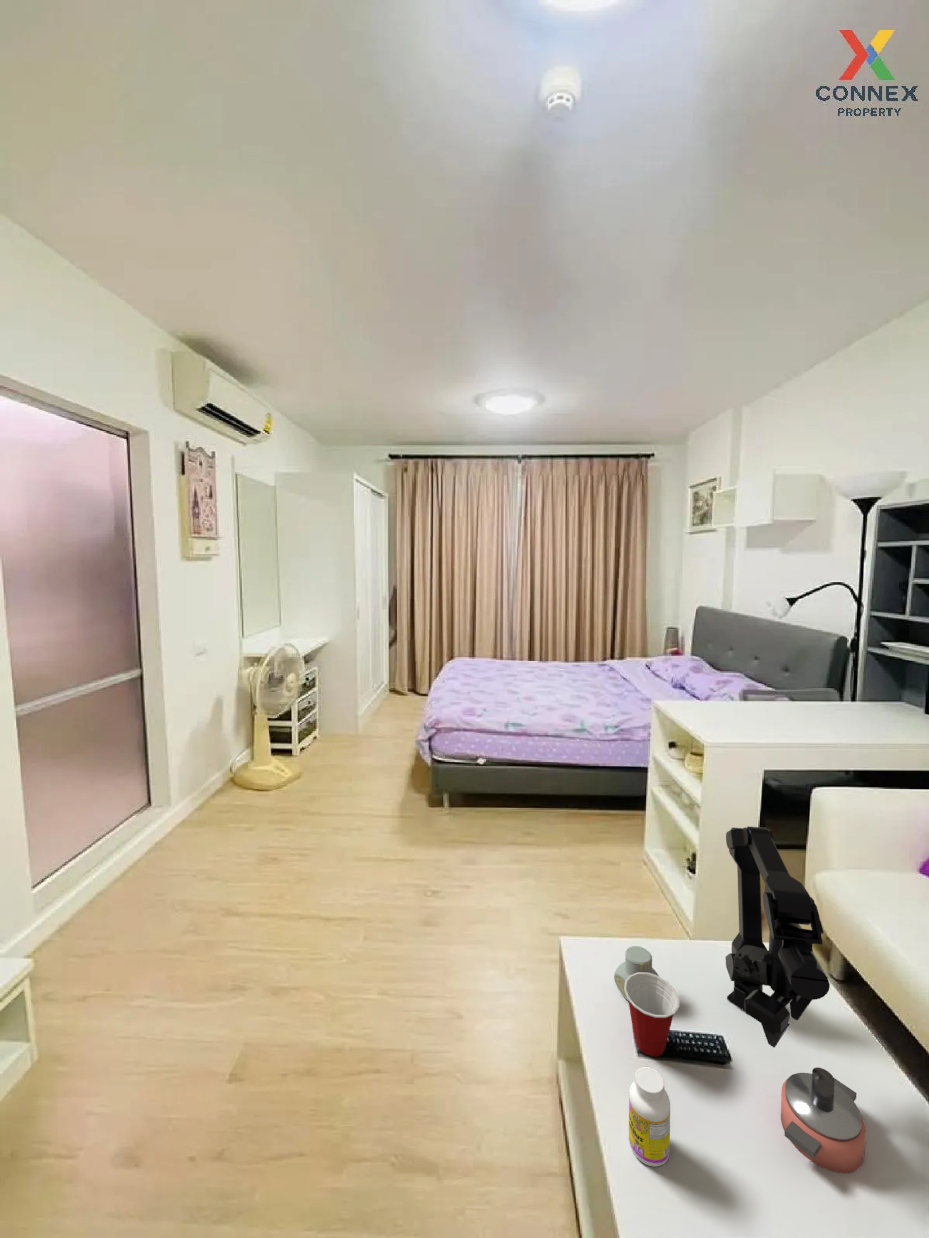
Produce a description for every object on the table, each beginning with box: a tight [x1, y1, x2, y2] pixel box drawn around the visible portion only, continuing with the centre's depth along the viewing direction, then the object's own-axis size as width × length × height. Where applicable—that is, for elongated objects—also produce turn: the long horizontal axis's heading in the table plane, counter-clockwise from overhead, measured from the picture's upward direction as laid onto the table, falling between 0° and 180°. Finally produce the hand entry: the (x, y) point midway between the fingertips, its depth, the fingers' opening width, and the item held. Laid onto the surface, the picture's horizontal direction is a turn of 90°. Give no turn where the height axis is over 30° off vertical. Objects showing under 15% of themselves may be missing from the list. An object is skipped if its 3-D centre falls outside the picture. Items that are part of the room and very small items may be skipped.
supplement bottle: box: [628, 1066, 671, 1168], centre depth 90 cm, size 7×7×13 cm
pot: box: [780, 1077, 866, 1174], centre depth 92 cm, size 17×12×5 cm
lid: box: [785, 1067, 862, 1142], centre depth 92 cm, size 11×11×6 cm
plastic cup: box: [624, 972, 680, 1057], centre depth 110 cm, size 11×11×12 cm
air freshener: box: [613, 945, 660, 1001], centre depth 123 cm, size 11×8×10 cm
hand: (783, 1031), depth 98 cm, fingers open, 9 cm apart
